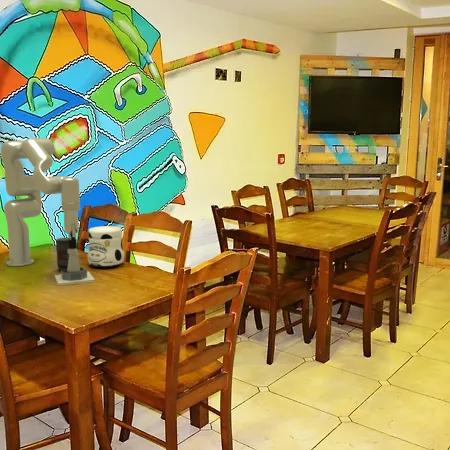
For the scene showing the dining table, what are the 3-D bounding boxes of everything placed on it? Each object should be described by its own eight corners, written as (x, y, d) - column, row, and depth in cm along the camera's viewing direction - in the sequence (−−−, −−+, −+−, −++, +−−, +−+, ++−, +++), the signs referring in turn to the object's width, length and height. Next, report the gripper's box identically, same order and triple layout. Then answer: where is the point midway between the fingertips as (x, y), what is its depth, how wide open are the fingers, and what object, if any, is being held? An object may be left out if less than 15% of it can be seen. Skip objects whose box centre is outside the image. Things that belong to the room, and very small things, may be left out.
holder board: (54, 277, 245) (54, 275, 244) (89, 274, 250) (88, 271, 250) (58, 285, 232) (58, 283, 232) (94, 281, 238) (94, 279, 238)
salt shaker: (68, 275, 244) (67, 246, 242) (81, 275, 244) (80, 246, 242) (65, 279, 238) (64, 249, 236) (79, 278, 239) (78, 249, 236)
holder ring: (60, 275, 244) (60, 268, 243) (84, 273, 248) (84, 265, 247) (63, 281, 234) (63, 273, 234) (88, 279, 238) (88, 271, 238)
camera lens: (78, 268, 261) (76, 237, 258) (71, 272, 253) (70, 240, 250) (61, 267, 261) (59, 236, 259) (54, 272, 253) (52, 240, 251)
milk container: (87, 270, 256) (85, 232, 253) (88, 262, 273) (87, 226, 270) (124, 269, 260) (123, 231, 256) (124, 260, 276) (123, 225, 273)
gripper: (59, 204, 241) (61, 245, 244) (64, 209, 227) (66, 252, 230) (77, 203, 244) (79, 244, 247) (82, 208, 230) (84, 251, 233)
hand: (72, 248), depth 239 cm, fingers closed
